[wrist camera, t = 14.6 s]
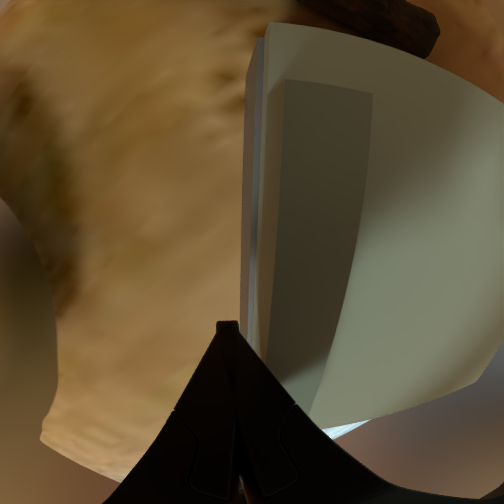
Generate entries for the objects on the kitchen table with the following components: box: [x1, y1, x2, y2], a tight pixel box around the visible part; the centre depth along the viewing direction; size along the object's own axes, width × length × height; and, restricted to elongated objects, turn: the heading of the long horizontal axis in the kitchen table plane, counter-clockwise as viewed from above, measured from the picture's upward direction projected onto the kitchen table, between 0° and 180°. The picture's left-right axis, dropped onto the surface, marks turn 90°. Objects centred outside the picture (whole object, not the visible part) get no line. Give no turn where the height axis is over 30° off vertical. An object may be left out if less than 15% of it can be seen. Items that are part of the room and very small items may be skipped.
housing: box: [240, 37, 265, 347], centre depth 13 cm, size 16×16×6 cm
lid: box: [252, 22, 504, 429], centre depth 8 cm, size 16×16×3 cm
